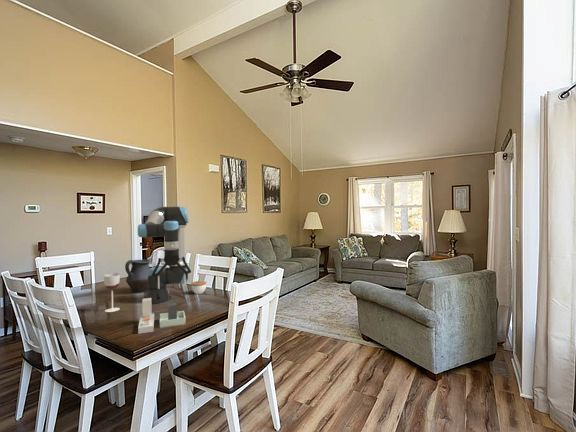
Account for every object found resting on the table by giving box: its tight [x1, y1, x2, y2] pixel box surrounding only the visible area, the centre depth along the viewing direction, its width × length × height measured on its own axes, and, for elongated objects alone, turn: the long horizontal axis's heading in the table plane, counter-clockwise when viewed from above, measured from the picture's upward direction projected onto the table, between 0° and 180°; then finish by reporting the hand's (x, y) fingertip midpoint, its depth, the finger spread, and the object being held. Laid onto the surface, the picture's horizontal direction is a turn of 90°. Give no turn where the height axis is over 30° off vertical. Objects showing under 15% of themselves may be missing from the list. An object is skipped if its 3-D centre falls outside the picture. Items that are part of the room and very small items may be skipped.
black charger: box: [167, 302, 178, 320], centre depth 168 cm, size 5×4×9 cm
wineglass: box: [103, 272, 121, 313], centre depth 189 cm, size 9×10×22 cm
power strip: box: [137, 313, 155, 335], centre depth 166 cm, size 26×7×4 cm, turn 23°
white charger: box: [141, 297, 153, 316], centre depth 169 cm, size 5×4×9 cm
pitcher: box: [124, 259, 151, 294], centre depth 232 cm, size 21×22×25 cm
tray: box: [159, 310, 187, 329], centre depth 168 cm, size 13×13×4 cm
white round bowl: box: [191, 280, 207, 295], centre depth 227 cm, size 11×11×9 cm
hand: (172, 286), depth 168 cm, fingers open, 13 cm apart
